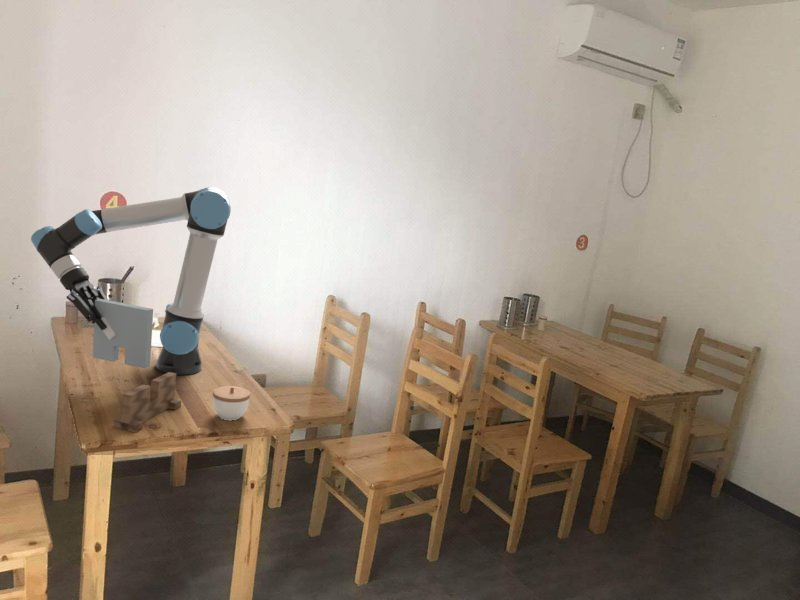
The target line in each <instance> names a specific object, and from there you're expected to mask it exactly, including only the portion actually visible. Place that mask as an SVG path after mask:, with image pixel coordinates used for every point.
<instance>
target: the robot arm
mask: <svg viewBox="0 0 800 600" xmlns="http://www.w3.org/2000/svg"><path fill="white" fill-rule="evenodd" d="M230 215H231V203H230V200H229V198H228V195H227V194H226V193H225V192H224V191H222V189H219V188H217V187H211V186H210V187H204V188H201V189H198V190H195V191H191V192H190V191H189V192H185V193H183V194H182V195H181V196H180V197H179V196H178V197H173V198H166V199H161V200H154V201H147V202H139V203H135V204H128V205H121V206H115V207H107V208H102V209H96V210H90V209H87V208H85V209H83V210H82V211H79V212H78V213H76V214H75V215H73V217H70V219H68V220H67V221H65V222H64V223H62V224H61V225H59V226H58V227H57V228H54V227H53V226H50V225H49V226H47V225H46V226H44V227H43V226H42V227H41V228H40V229H37V230H36V231H34V233H32V235H31V237H30V241H31V243H32V244H33V246H34V247H35V249H36V251H37V253H39V255H40V257H42V259H43V260H44V261H45V262H46V264H47V265H48V266H49V269H51V271H52V272H53V273H54V275H55V276H56V278H57V279H58V280H59V282H60V283H61V285H62V286H63V287H64V289H65V290H67V291H69V292H70V293H69V294H68V295H67V296H66V298H65V299H67V300H69V301H70V302H71V303H72V304H73V306H75V307H76V309H77V310H78V311H79V312H80V314H81V315H82V316H83V317H84V319H86V321H87V322H89V323H91V324H93V325H94V323H95V322H96V324H97V325H98V326H99V327H100V329H101V330H102V331H103V332H104V333H105V335H106V336H107V337H108V339H109V340H111V339H112V338H113V337H114V336H115V335H117V334H116V333H115V331H114V330H113V329H112V327H111V326H110V325H109V323H108V322H107V320H106V319H105V318H104V317H102V318H101V315H100V314H99V312H98V310H97V309H96V307H95V300H98V299H104V300H109V299H108V298H107V296H106V294H105V293H104V291H103V287H102V286H101V285H98V286H94V285H93V284H92V283H91V282H90V281H89V280H90V276H89V275H90V274H88V273H87V271H86V270H85V269H84V267H82V264H81V262H80V261H79V260H78V258H77V257H76V256H75V255H74V254H73V252H72V250H73V249H75V248H76V247H77V246H79V245H81V244H83V243H84V242H85V241H86V240H88V239H89V238H91V237H92V236H95V235H100V234H106V233H110V232H116V231H117V232H118V231H123V230H130V229H135V228H143V227H148V226H154V225H155V226H156V225H161V224H167V223H175V222H180V221H187V223H186V228H187V229H188V231H189V237H188V240H187V241H188V242H187V245H186V249H185V253H184V258H183V262H182V266H181V270H180V274H179V278H178V284H177V286H176V291H175V295H174V298H173V299H174V300H173V302H170V303H168V304H167V305H166V306H165V307H166V308H165V310H164V312H165V315H164V319H163V320H164V321H163V324H162V328H161V331H160V333H159V340H160V342H161V345H162V348H161V350H160V352H159V354H158V357H157V360H156V365H155V366H156V367H155V368H156V369H157V370H158V371H160V372H163V373H164V374H166V373H168V372H172V373H176V375H179V376H180V375H181V376H183V375H193V374H197V373H199V372H201V370H202V368H203V366H202V365H203V361H202V357H201V353H200V349H199V343H200V342H199V341H200V333H201V329H202V325H203V321H204V312H203V311H202V304H203V301H204V296H205V293H206V288H207V284H208V279H209V276H210V272H211V268H212V264H213V260H214V255H215V251H216V247H217V243H218V240H219V239H221V238H222V237H224V235H225V232H226V227H227V223H228V220H229V218H230Z"/></svg>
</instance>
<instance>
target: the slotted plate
mask: <svg viewBox="0 0 800 600" xmlns="http://www.w3.org/2000/svg"><path fill="white" fill-rule="evenodd" d="M95 307H96V309H97V310H98V312H99V314H100V315H101V318H102V317H104V318H105V319H106V320H107V322H108V323H109V325H110V326H111V327H112V329H113V330H114V331H115V333H116V334H117V335H115V336H114V337H113V338H112V339H111V340H109V339H108V337H107V336H106V335H105V333H104V332H103V331H102V330H101V329H100V327H99V326H98V325H97V324H96V322H95V323H94V324H93V341H92V342H93V343H92V344H93V346H92V348H93V349H92V358H95V359H99V360H105V361H109V362H115V361H117V360H119V355H120V354H119V352H120V351H119V350H120V349H121V348H123V349H124V365H127V366H131V367H134V368H135V367H137V368H141V369H147V368H150V367H151V359H152V358H151V357H152V336H153V320H154V319H153V317H154V309H153V308H149V307H144V306H139V305H135V304H129V303H124V302H121V301H120V302H118V301H114V300H109V299H108V300H104V299H98V300H95Z"/></svg>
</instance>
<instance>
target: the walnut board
mask: <svg viewBox="0 0 800 600" xmlns="http://www.w3.org/2000/svg"><path fill="white" fill-rule="evenodd" d="M150 381H151V383H150V384H151V385H147V384H141V385H138V386H136V387H134V388H132V389H130V390H128V391H126V392H124V393H122V399H121V411H120V412H121V413H120V414H121V416H118V417H117V418H114V419H113V420H112V421H113V423H112V427H113V428H116V429H120V430H125V431H127V432H128V431H129V432H130V433H131V432H133V433H137V432H139V431H141V430H143V429H144V423H145V422H146V421H148V420H150V419H152V418H153V417H156V416H157V415H158V414H160V413H162V412H164V411H166V410H168V409H171V410H174V411H175V410H177V409H180V408H181V407H182V400H181V399H178V398H176V397H175V396H176V382H177V374H176V373H172V372H168V373H164V374H162V375H160V376H158V377H156V378H153V379H151V380H150Z"/></svg>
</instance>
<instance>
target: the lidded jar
mask: <svg viewBox="0 0 800 600" xmlns="http://www.w3.org/2000/svg"><path fill="white" fill-rule="evenodd" d="M250 397H251V392H250V390H248V389H247V388H244V387H240V386H235V385H234V386H233V385H225V386H219V387H217V388H215V389H214V390H213V392H212V407H213V410H214V412H215V413H216V415H217V416H218V417H220V418H219V419H221V420H223V419H224V421H227V420H228V421H229V422H231V421H232V420H234V421H238V420H239V419H241V417H242V416H243V415H244V414H245V413H246V412H247V410H248V408H249V404H250V399H251V398H250ZM237 419H238V420H237Z"/></svg>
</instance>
